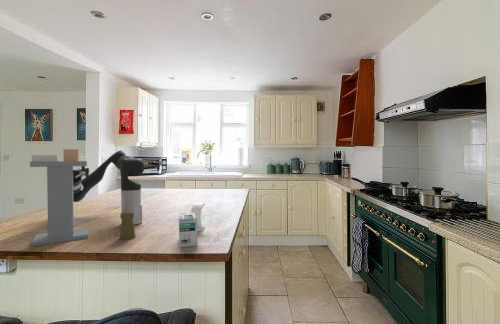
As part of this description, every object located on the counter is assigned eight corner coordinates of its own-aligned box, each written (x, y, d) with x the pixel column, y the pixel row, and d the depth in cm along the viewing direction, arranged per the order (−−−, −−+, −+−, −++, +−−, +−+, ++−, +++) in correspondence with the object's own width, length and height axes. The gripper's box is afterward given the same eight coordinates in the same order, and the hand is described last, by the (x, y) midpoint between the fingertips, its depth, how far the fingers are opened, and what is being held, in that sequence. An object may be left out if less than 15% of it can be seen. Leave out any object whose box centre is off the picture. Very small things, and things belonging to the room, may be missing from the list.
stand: (87, 230, 117) (86, 155, 117) (87, 238, 106) (86, 155, 106) (36, 237, 107) (35, 155, 107) (31, 246, 97) (29, 155, 96)
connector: (79, 161, 122) (78, 150, 122) (78, 161, 108) (78, 149, 108) (66, 161, 120) (66, 150, 120) (63, 161, 105) (63, 149, 105)
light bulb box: (197, 246, 96) (197, 217, 96) (179, 248, 94) (179, 218, 94) (195, 237, 106) (195, 211, 106) (178, 239, 104) (178, 213, 104)
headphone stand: (205, 228, 121) (204, 202, 121) (199, 231, 115) (199, 205, 115) (195, 227, 122) (195, 202, 122) (190, 231, 116) (190, 204, 116)
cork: (129, 240, 103) (128, 213, 103) (116, 239, 104) (115, 212, 104) (138, 235, 109) (138, 210, 109) (126, 235, 110) (125, 209, 110)
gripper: (88, 186, 139) (89, 172, 127) (56, 187, 131) (53, 172, 119) (88, 174, 142) (88, 159, 130) (56, 174, 134) (53, 159, 123)
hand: (71, 165), depth 125 cm, fingers open, 8 cm apart
